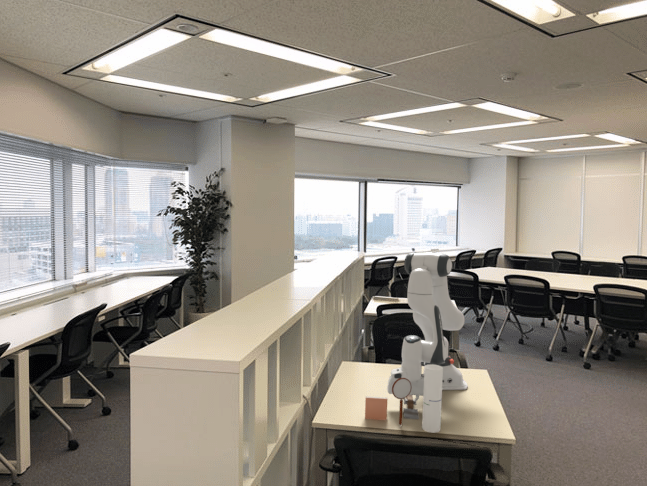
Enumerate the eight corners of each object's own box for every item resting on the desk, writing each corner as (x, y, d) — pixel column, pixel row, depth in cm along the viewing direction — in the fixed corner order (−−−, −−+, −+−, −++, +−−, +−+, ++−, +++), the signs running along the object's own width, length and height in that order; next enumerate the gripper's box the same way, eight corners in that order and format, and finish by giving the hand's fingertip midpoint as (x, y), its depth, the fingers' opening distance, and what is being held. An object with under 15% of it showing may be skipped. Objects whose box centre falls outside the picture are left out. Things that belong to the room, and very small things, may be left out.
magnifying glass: (391, 428, 198) (393, 379, 197) (389, 426, 200) (391, 378, 198) (411, 425, 201) (412, 377, 200) (408, 424, 203) (410, 376, 201)
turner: (402, 398, 230) (402, 389, 230) (415, 398, 230) (415, 390, 229) (404, 418, 208) (404, 408, 208) (418, 419, 208) (419, 409, 207)
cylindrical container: (439, 433, 195) (441, 371, 193) (420, 430, 197) (423, 368, 195) (441, 426, 201) (444, 365, 200) (423, 423, 204) (426, 363, 202)
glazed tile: (386, 418, 208) (387, 397, 207) (386, 420, 206) (387, 399, 206) (365, 417, 209) (365, 396, 208) (364, 418, 207) (365, 397, 206)
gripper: (434, 372, 220) (433, 402, 221) (387, 369, 222) (386, 399, 223) (436, 377, 214) (435, 408, 215) (388, 374, 216) (387, 405, 217)
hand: (410, 404), depth 219 cm, fingers closed on turner, 2 cm apart
